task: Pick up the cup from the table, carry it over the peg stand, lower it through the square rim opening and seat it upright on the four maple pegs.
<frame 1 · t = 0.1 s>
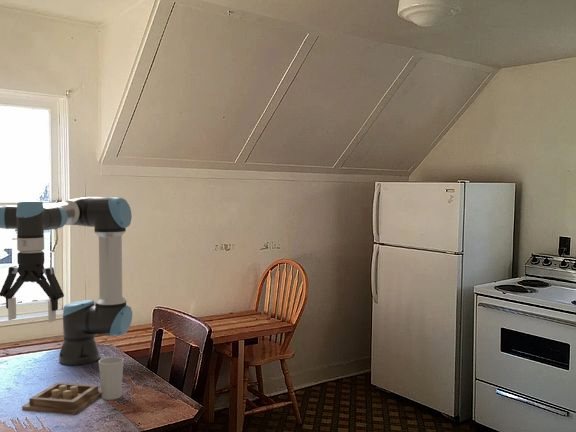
hand: (32, 320, 177), 28 cm above the table, fingers open, 13 cm apart
peg stand: (65, 401, 185), on the table
cup: (111, 396, 190), on the table
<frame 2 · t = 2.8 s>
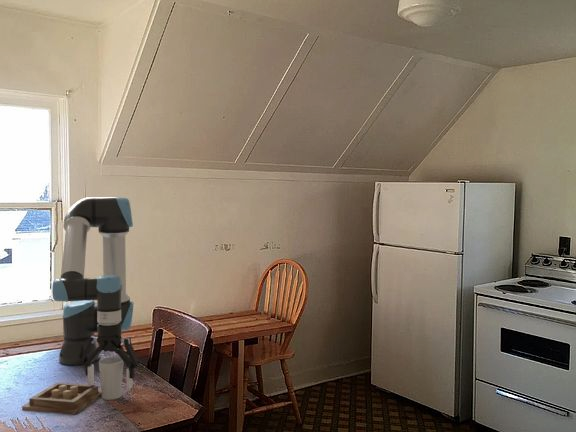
hand: (110, 386, 190), 3 cm above the table, fingers open, 13 cm apart
nothing on the table moved.
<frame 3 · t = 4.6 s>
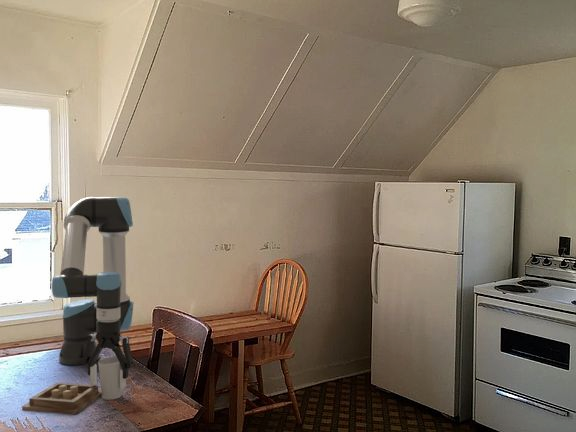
hand: (108, 386, 190), 3 cm above the table, fingers open, 10 cm apart
cup: (111, 396, 190), on the table, touching gripper
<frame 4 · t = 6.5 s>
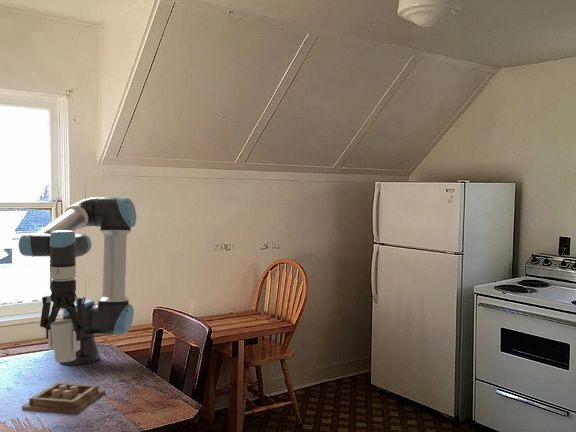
hand: (64, 349, 185), 17 cm above the table, fingers closed on cup, 8 cm apart
cup: (65, 360, 185), point 13 cm above the table, touching gripper
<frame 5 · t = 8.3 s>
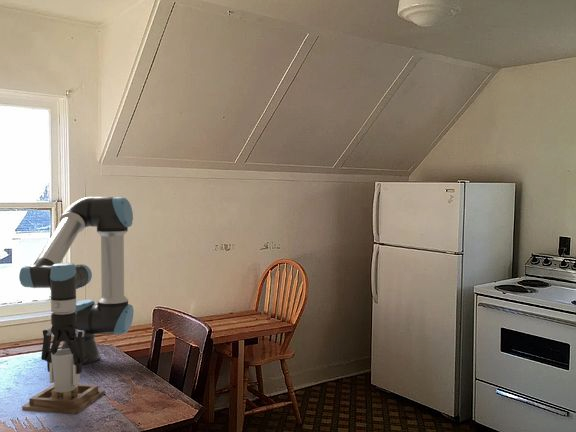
hand: (64, 382, 185), 6 cm above the table, fingers closed on cup, 7 cm apart
cup: (65, 389, 185), point 4 cm above the table, touching gripper, peg stand
when the fingers open (6 cm above the table, at t = 9.3 s): cup stays where it is, resting on peg stand.
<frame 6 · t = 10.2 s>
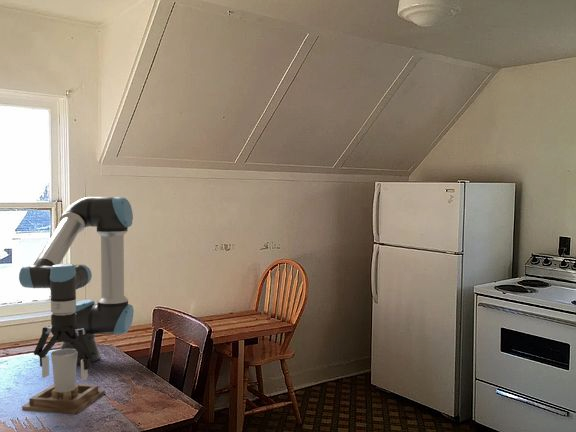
hand: (64, 378, 185), 7 cm above the table, fingers open, 13 cm apart
cup: (65, 389, 185), point 4 cm above the table, touching peg stand
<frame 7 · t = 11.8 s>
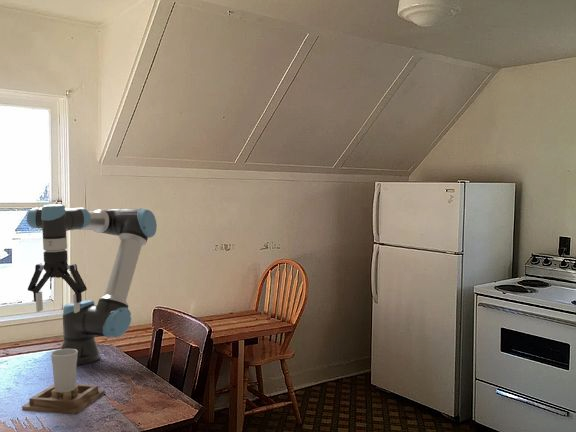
hand: (58, 311, 198), 26 cm above the table, fingers open, 13 cm apart
nothing on the table moved.
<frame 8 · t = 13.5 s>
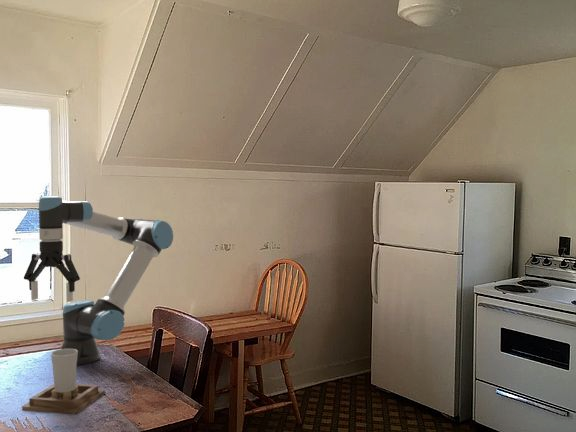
hand: (52, 300, 203), 29 cm above the table, fingers open, 13 cm apart
nothing on the table moved.
at the end: cup 0.2 cm off-centre on the peg stand, point 3.8 cm above the peg stand's base; cup tilted 0°; the gripper is holding nothing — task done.
